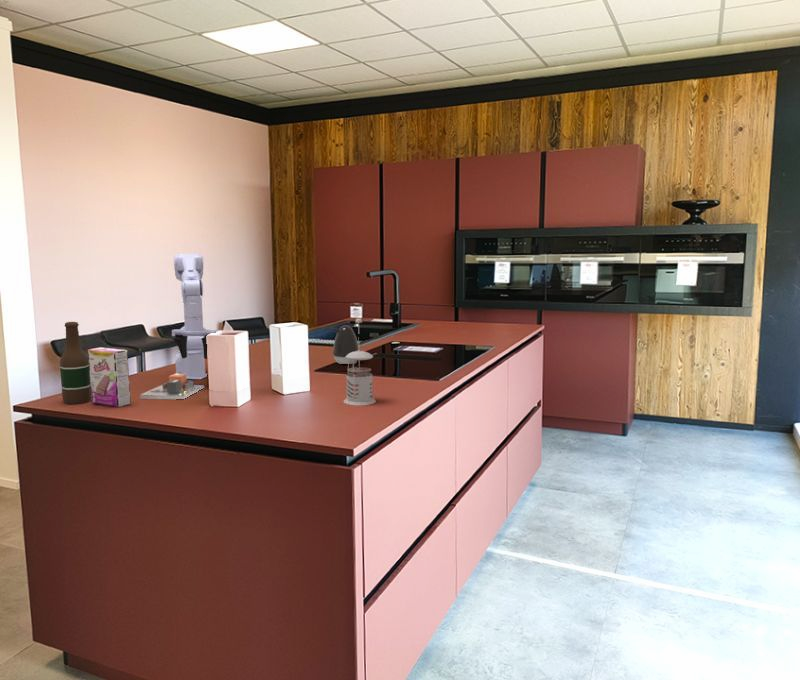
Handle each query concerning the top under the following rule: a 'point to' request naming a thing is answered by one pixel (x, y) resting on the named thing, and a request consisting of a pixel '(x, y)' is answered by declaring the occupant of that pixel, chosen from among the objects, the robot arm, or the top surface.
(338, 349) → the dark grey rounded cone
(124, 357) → the candy bar box
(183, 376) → the lockout cap
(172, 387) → the breaker
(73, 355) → the beer bottle
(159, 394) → the breaker panel
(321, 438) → the top surface
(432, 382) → the top surface
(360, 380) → the french press
